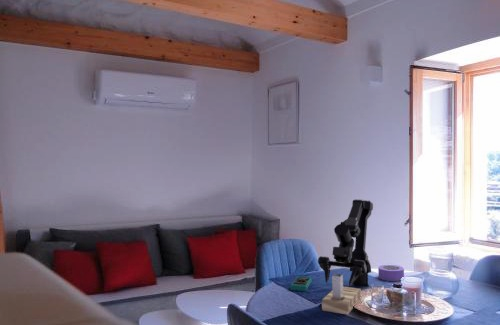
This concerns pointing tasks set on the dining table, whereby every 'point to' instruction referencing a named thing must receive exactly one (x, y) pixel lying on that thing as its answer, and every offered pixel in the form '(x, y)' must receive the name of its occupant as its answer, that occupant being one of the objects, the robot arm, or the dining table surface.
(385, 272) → the tape roll
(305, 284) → the digital multimeter
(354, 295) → the socket block
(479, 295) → the dining table surface
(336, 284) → the square bit
